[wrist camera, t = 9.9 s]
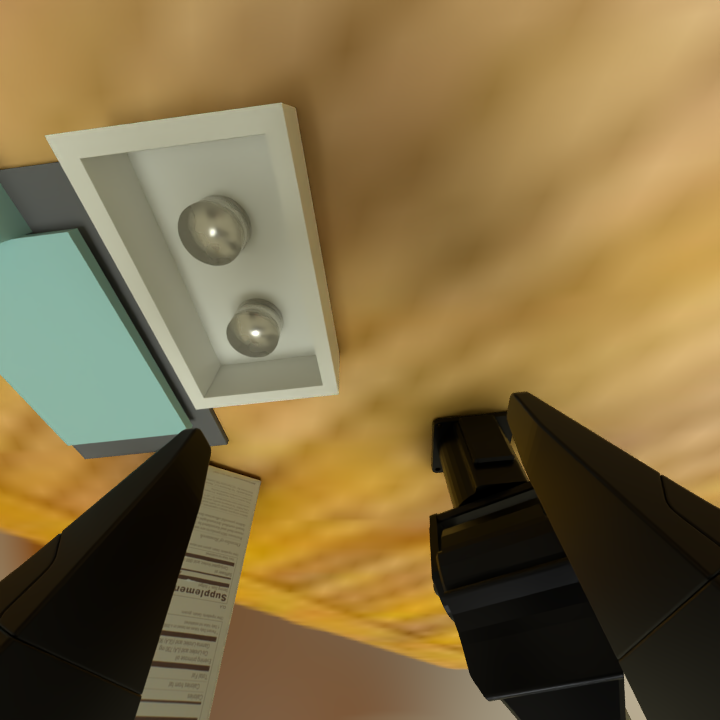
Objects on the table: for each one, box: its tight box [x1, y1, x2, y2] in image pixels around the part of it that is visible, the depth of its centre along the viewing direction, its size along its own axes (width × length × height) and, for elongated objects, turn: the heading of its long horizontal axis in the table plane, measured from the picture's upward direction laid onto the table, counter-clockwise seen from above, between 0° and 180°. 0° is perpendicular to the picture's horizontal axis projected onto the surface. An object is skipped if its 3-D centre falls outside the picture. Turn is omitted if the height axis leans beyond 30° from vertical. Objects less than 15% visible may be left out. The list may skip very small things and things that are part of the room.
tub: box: [45, 103, 340, 410], centre depth 17 cm, size 14×9×4 cm, turn 6°
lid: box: [0, 184, 193, 446], centre depth 18 cm, size 18×9×5 cm, turn 6°
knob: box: [226, 298, 283, 358], centre depth 19 cm, size 3×3×2 cm
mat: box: [0, 162, 229, 459], centre depth 21 cm, size 20×12×1 cm, turn 6°
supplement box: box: [135, 465, 261, 720], centre depth 24 cm, size 10×9×17 cm
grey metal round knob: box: [178, 195, 252, 266], centre depth 16 cm, size 3×3×2 cm
